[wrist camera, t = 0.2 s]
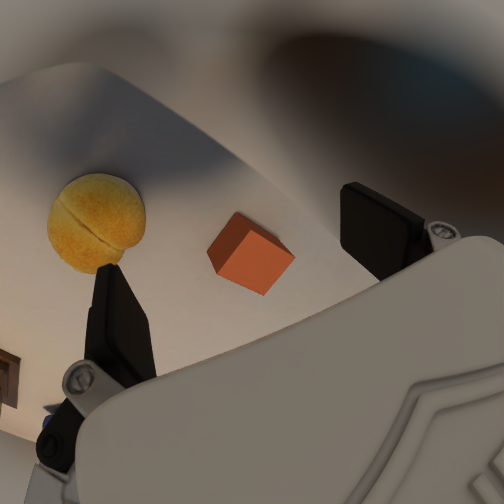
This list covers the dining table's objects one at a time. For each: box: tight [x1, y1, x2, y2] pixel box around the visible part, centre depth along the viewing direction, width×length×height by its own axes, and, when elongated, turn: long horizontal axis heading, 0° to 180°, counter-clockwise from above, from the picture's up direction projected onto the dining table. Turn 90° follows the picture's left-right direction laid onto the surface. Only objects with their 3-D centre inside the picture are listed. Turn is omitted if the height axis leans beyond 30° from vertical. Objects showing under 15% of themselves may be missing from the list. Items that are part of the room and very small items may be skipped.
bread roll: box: [47, 173, 146, 274], centre depth 20 cm, size 8×9×4 cm
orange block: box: [207, 212, 295, 296], centre depth 27 cm, size 5×6×4 cm
